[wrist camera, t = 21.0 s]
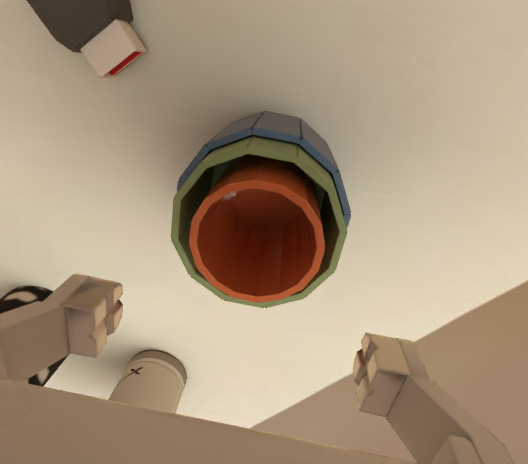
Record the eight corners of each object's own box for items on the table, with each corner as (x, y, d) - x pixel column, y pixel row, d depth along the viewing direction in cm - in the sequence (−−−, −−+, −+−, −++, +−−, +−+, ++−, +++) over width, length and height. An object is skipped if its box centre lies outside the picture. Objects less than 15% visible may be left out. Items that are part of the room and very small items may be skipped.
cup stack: (214, 101, 26) (168, 118, 16) (349, 127, 26) (380, 160, 16) (201, 224, 30) (158, 295, 20) (316, 247, 30) (326, 327, 20)
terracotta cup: (232, 132, 24) (197, 167, 16) (324, 152, 24) (340, 197, 16) (219, 218, 27) (183, 287, 18) (302, 235, 27) (306, 313, 18)
